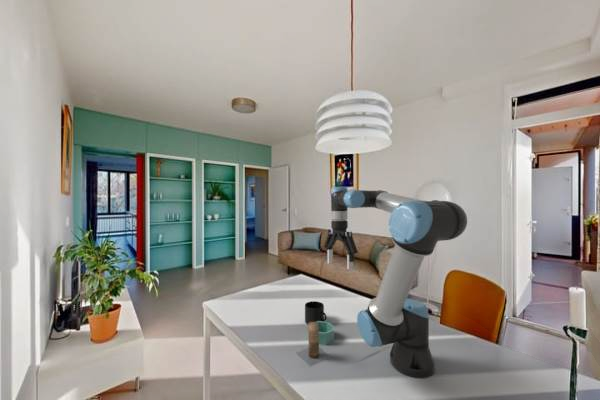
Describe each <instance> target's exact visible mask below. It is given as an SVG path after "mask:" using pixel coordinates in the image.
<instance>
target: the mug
mask: <svg viewBox="0 0 600 400" xmlns="http://www.w3.org/2000/svg"><path fill="white" fill-rule="evenodd" d="M326 320H327V314H326V313H325V306H324V302H321V301H313V300H312V301H308V302H306V303H305V304H304V323H305V324H306V325H308V323H310V322H317V321H323V322H327V321H326Z"/></svg>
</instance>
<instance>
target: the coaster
mask: <svg viewBox="0 0 600 400" xmlns="http://www.w3.org/2000/svg"><path fill="white" fill-rule="evenodd" d="M295 354H296V355H297V356H298V357H299V358H301V360H302V361H304V362H305V363H306V364H307V365H308V366H309V367H313V366H315V365H316V364H319V363H321V362H324V361H326V360H328V359H331V358H332V356H331V355H329V354H328V353H327V352H326V351H325V350H323V348H320V347H319V357H318V358H310V357H309V347H306V348H304V349H302V350H299V351H296V352H295Z"/></svg>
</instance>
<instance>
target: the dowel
mask: <svg viewBox="0 0 600 400" xmlns="http://www.w3.org/2000/svg"><path fill="white" fill-rule="evenodd" d="M307 325H308V327H307V328H308V330H307V331H308V335H307V336H308V348H309V357H310V358H318V357H319V348H320V344H319V324H318V323H317V322H310V323H308V324H307Z"/></svg>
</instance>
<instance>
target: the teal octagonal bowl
mask: <svg viewBox="0 0 600 400" xmlns="http://www.w3.org/2000/svg"><path fill="white" fill-rule="evenodd" d="M317 323H318V324H319V346H321V345H323V346H326V345H329V344H332V343H334V340H335V325H334V324H333V323H330V322H328V321H324V322H323V321H317Z"/></svg>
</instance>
